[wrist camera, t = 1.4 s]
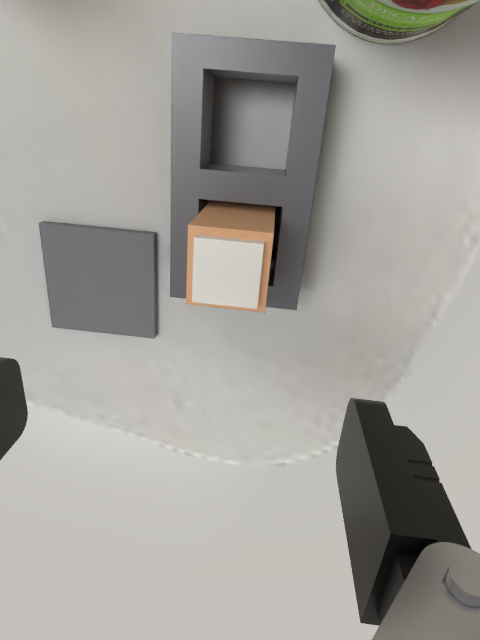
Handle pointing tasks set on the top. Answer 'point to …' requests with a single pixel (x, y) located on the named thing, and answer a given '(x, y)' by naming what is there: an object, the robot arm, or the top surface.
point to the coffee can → (394, 17)
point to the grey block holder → (238, 181)
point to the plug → (230, 255)
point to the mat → (100, 278)
